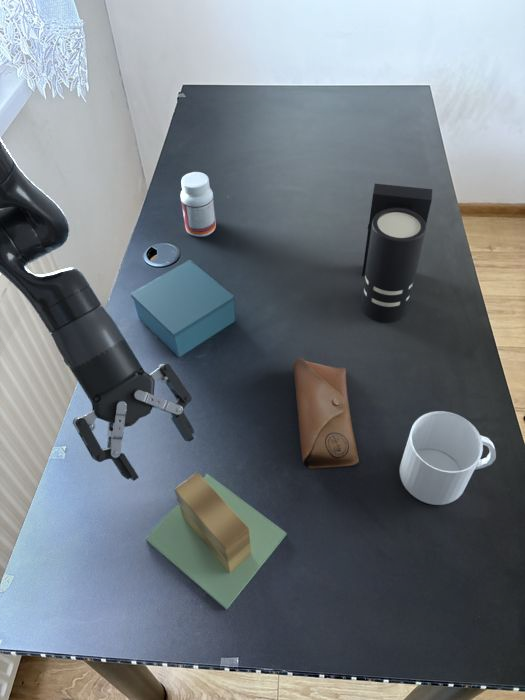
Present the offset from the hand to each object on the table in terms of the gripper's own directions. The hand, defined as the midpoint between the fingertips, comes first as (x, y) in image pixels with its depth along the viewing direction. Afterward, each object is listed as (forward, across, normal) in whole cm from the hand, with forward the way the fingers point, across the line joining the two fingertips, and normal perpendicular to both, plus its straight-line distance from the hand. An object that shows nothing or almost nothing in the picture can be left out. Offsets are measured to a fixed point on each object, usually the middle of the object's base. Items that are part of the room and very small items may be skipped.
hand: (163, 458), depth 77 cm
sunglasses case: (+10, +24, +2) cm, 26 cm away
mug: (+22, +29, -11) cm, 38 cm away
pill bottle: (-24, +38, +36) cm, 57 cm away
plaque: (+12, 0, -2) cm, 12 cm away
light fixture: (+2, +50, +9) cm, 51 cm away
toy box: (-12, +20, +23) cm, 33 cm away
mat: (+12, 0, -1) cm, 13 cm away
